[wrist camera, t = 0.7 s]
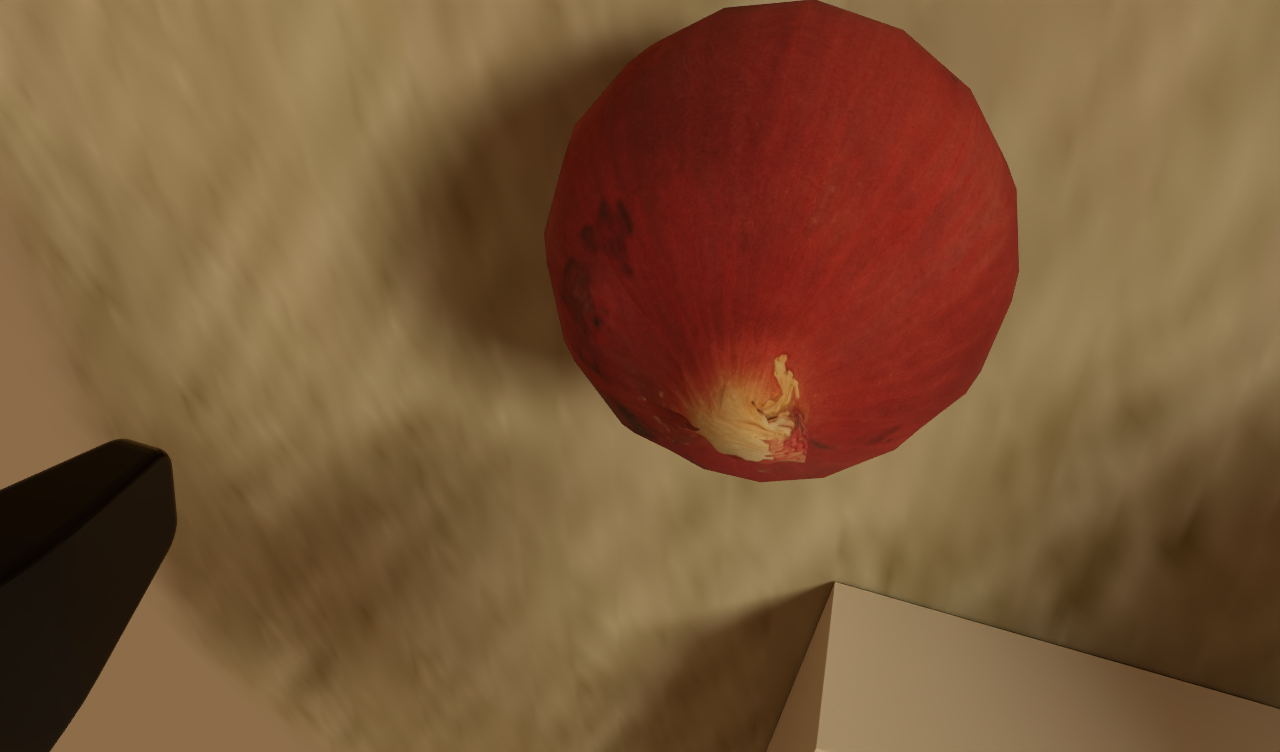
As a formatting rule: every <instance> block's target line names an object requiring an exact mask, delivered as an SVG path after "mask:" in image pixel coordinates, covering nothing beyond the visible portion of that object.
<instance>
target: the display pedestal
mask: <svg viewBox="0 0 1280 752" xmlns="http://www.w3.org/2000/svg"><path fill="white" fill-rule="evenodd" d="M766 752H1280V709H1278V708H1274V707H1271V706H1267V705H1264V704H1260V703H1257V702H1253V701H1250V700H1246V699H1243V698H1239V697H1236V696H1232V695H1229V694H1225V693H1222V692H1218V691H1215V690H1211V689H1208V688H1204V687H1201V686H1197V685H1194V684H1190V683H1187V682H1183V681H1180V680H1176V679H1173V678H1169V677H1166V676H1162V675H1159V674H1155V673H1152V672H1148V671H1145V670H1141V669H1138V668H1134V667H1131V666H1127V665H1124V664H1120V663H1117V662H1113V661H1110V660H1106V659H1103V658H1099V657H1096V656H1092V655H1089V654H1085V653H1082V652H1078V651H1075V650H1071V649H1068V648H1064V647H1061V646H1057V645H1054V644H1050V643H1047V642H1044V641H1040V640H1037V639H1033V638H1030V637H1026V636H1023V635H1019V634H1016V633H1012V632H1009V631H1005V630H1002V629H998V628H995V627H991V626H988V625H984V624H981V623H977V622H974V621H970V620H967V619H963V618H960V617H956V616H953V615H949V614H946V613H942V612H939V611H935V610H932V609H928V608H925V607H921V606H918V605H914V604H911V603H907V602H904V601H900V600H897V599H893V598H890V597H886V596H883V595H879V594H876V593H872V592H869V591H865V590H862V589H858V588H855V587H851V586H848V585H844V584H841V583H837V582H835V583H834V586H833V588H832V591H831V593H830V596H829V598H828V600H827V603H826V605H825V608H824V610H823V613H822V615H821V618H820V620H819V623H818V625H817V628H816V630H815V633H814V635H813V637H812V640H811V642H810V645H809V647H808V650H807V652H806V655H805V657H804V660H803V662H802V665H801V667H800V669H799V672H798V674H797V677H796V679H795V682H794V684H793V687H792V689H791V692H790V694H789V697H788V699H787V702H786V704H785V706H784V709H783V711H782V714H781V716H780V719H779V721H778V724H777V726H776V729H775V731H774V734H773V736H772V739H771V741H770V743H769V746H768V748H767V751H766Z"/></svg>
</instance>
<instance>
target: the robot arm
mask: <svg viewBox="0 0 1280 752" xmlns="http://www.w3.org/2000/svg"><path fill="white" fill-rule="evenodd" d="M176 526H177V513H176V502H175V492H174V481H173V470H172V463H171V459H170V457H169V456H168V454H167V453H166V452H165V451H163V450H162V449H159V448H156V447H152V446H149V445H146V444H142V443H139V442H135V441H132V440H128V439H117V440H113V441H110V442H107V443H105V444H103V445H100V446H98V447H96V448H94V449H91V450H89V451H87V452H85V453H82V454H80V455H78V456H76V457H73V458H71V459H69V460H67V461H64V462H62V463H60V464H58V465H55V466H53V467H51V468H49V469H47V470H44V471H42V472H40V473H38V474H35V475H33V476H31V477H28V478H26V479H24V480H22V481H19V482H17V483H15V484H13V485H10V486H8V487H6V488H4V489H1V490H0V752H50V751H51V749H52V748H53V746H54V745H55V743H56V742H57V740H58V739H59V738H60V736H61V735H62V733H63V732H64V731H65V729H66V728H67V726H68V725H69V723H70V722H71V720H72V719H73V717H74V716H75V714H76V713H77V711H78V710H79V708H80V707H81V705H82V704H83V702H84V701H85V699H86V697H87V696H88V694H89V692H90V690H91V688H92V687H93V685H94V684H95V682H96V680H97V678H98V677H99V675H100V673H101V671H102V670H103V668H104V666H105V664H106V662H107V661H108V659H109V657H110V655H111V653H112V651H113V650H114V648H115V646H116V644H117V642H118V641H119V639H120V637H121V635H122V634H123V632H124V630H125V628H126V626H127V624H128V622H129V621H130V619H131V617H132V615H133V614H134V612H135V610H136V608H137V606H138V604H139V603H140V601H141V599H142V597H143V596H144V594H145V592H146V590H147V588H148V587H149V585H150V583H151V581H152V579H153V578H154V576H155V574H156V572H157V570H158V568H159V567H160V565H161V563H162V561H163V559H164V558H165V556H166V554H167V552H168V550H169V548H170V546H171V544H172V541H173V539H174V535H175V532H176Z"/></svg>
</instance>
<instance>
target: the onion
mask: <svg viewBox="0 0 1280 752" xmlns="http://www.w3.org/2000/svg"><path fill="white" fill-rule="evenodd" d="M544 235H545V246H546V257H547V265H548V269H549V274H550V278H551V283H552V287H553V292H554V296H555V301H556V305H557V310H558V314H559V319H560V323H561V328H562V332H563V337H564V341H565V343H566V345H567V347H568V349H569V351H570V353H571V355H572V356H573V358H574V360H575V362H576V363H577V365H578V366H579V367H580V369H581V370H582V371H583V373H584V374H585V375H586V377H587V378H588V379H589V381H590V382H591V383H592V385H593V386H594V387H595V389H596V390H597V391H598V393H599V394H600V395H601V397H602V398H603V399H604V401H605V402H606V403H607V405H608V406H609V407H610V408H611V410H612V411H613V412H614V414H615V415H616V416H617V418H618V419H619V420H620V422H621V423H622V424H623V425H624V426H626V427H627V428H629V429H630V430H631V431H633V432H634V433H636V434H638V435H640V436H642V437H644V438H646V439H648V440H650V441H652V442H654V443H656V444H658V445H660V446H662V447H664V448H667V449H669V450H671V451H672V452H674V453H676V454H678V455H680V456H681V457H683V458H685V459H687V460H688V461H690V462H692V463H694V464H696V465H697V466H699V467H701V468H703V469H706V470H710V471H715V472H719V473H723V474H728V475H732V476H736V477H740V478H745V479H749V480H753V481H758V482H769V481H783V480H797V479H812V478H824V477H826V476H829V475H831V474H834V473H836V472H839V471H841V470H843V469H846V468H848V467H851V466H854V465H856V464H859V463H861V462H864V461H867V460H869V459H872V458H874V457H877V456H880V455H882V454H885V453H887V452H890V451H893V450H895V449H896V448H897V447H899V446H900V445H901V444H902V443H903V442H904V441H906V440H907V439H908V438H909V437H910V436H912V435H913V434H914V433H915V432H916V431H918V430H919V429H920V428H921V427H923V426H924V425H925V424H926V423H928V422H929V421H930V420H932V419H933V418H934V417H936V416H937V415H938V414H939V413H941V412H942V411H943V410H945V409H946V408H947V407H949V406H950V405H951V404H952V403H954V402H955V401H956V400H958V399H959V398H960V397H962V396H963V395H964V394H965V393H966V392H967V391H968V389H969V388H970V386H971V385H972V383H973V382H974V380H975V379H976V378H977V376H978V375H979V373H980V372H981V370H982V367H983V365H984V363H985V360H986V358H987V356H988V354H989V351H990V349H991V347H992V345H993V342H994V340H995V338H996V335H997V333H998V331H999V329H1000V326H1001V324H1002V322H1003V320H1004V317H1005V315H1006V313H1007V310H1008V308H1009V306H1010V304H1011V301H1012V297H1013V293H1014V289H1015V285H1016V281H1017V277H1018V273H1019V257H1018V223H1017V190H1016V187H1015V184H1014V181H1013V179H1012V176H1011V173H1010V170H1009V167H1008V165H1007V162H1006V160H1005V158H1004V156H1003V154H1002V152H1001V150H1000V148H999V146H998V144H997V142H996V140H995V138H994V136H993V134H992V132H991V130H990V128H989V126H988V124H987V122H986V120H985V118H984V116H983V114H982V111H981V109H980V107H979V105H978V103H977V101H976V99H975V97H974V95H973V93H972V91H971V89H970V88H968V87H967V86H966V85H965V84H964V83H963V82H962V81H961V80H959V79H958V78H957V77H956V76H955V75H954V74H953V73H951V72H950V71H949V70H948V69H947V68H946V67H945V66H943V65H942V64H941V63H940V62H939V61H938V60H937V59H936V58H934V57H933V56H932V55H931V54H930V53H929V52H928V51H926V50H925V49H924V48H923V47H922V46H921V45H920V44H918V43H917V42H916V41H915V40H914V39H913V38H912V37H911V36H909V35H908V34H907V33H906V32H905V31H904V30H902V29H899V28H896V27H893V26H890V25H887V24H884V23H881V22H879V21H876V20H873V19H870V18H867V17H864V16H861V15H858V14H855V13H853V12H850V11H847V10H844V9H841V8H838V7H835V6H832V5H829V4H827V3H824V2H821V1H818V0H803V1H793V2H782V3H771V4H761V5H750V6H739V7H729V8H723V9H721V10H719V11H717V12H715V13H713V14H711V15H709V16H707V17H706V18H704V19H702V20H700V21H698V22H696V23H694V24H692V25H690V26H688V27H686V28H684V29H682V30H680V31H678V32H676V33H674V34H672V35H670V36H668V37H666V38H664V39H662V40H660V41H658V42H656V43H654V44H652V45H651V46H650V47H648V48H647V49H646V50H644V51H643V52H642V53H641V54H639V55H638V56H637V57H636V58H634V59H633V60H632V61H631V62H629V63H628V64H627V65H626V67H625V68H624V69H623V70H622V71H621V72H620V74H619V75H618V76H617V77H616V78H615V79H614V81H613V82H612V83H611V84H610V85H609V86H608V88H607V89H606V90H605V91H604V92H603V93H602V95H601V96H600V97H599V98H598V99H597V100H596V101H595V103H594V104H593V105H592V106H591V107H590V108H589V110H588V111H587V112H586V113H585V114H584V115H583V117H582V118H581V119H580V120H579V121H578V122H577V124H576V125H575V127H574V130H573V133H572V136H571V139H570V142H569V145H568V148H567V151H566V154H565V157H564V160H563V164H562V168H561V172H560V176H559V180H558V183H557V187H556V191H555V195H554V199H553V203H552V206H551V210H550V214H549V218H548V222H547V225H546V229H545V233H544Z"/></svg>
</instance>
